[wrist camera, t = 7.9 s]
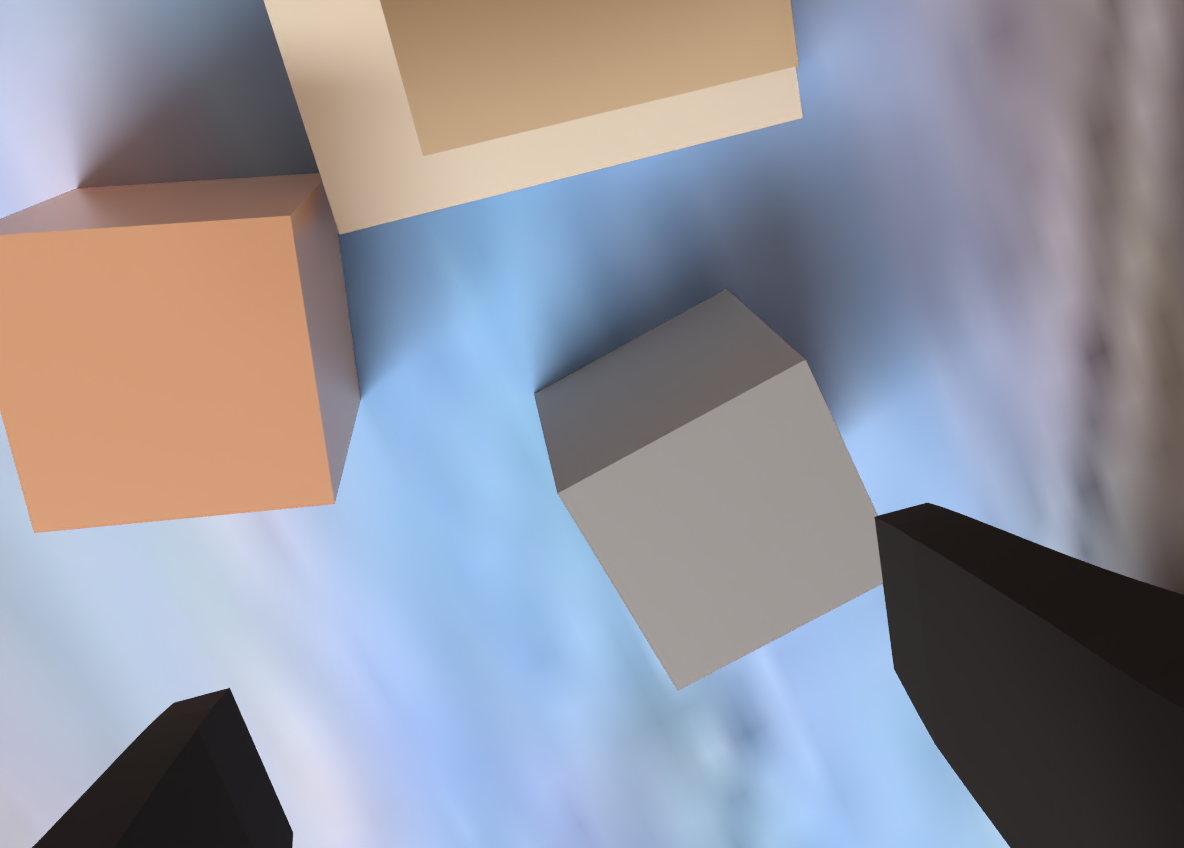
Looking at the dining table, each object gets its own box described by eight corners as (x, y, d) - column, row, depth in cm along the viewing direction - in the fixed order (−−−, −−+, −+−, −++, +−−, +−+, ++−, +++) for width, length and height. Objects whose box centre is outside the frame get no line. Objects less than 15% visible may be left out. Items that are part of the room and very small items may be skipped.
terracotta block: (360, 398, 20) (334, 504, 16) (130, 418, 20) (34, 532, 15) (329, 171, 19) (289, 215, 14) (78, 187, 18) (-48, 238, 14)
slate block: (809, 461, 22) (904, 572, 18) (630, 557, 23) (677, 690, 18) (725, 288, 21) (805, 359, 16) (533, 393, 21) (557, 493, 16)
